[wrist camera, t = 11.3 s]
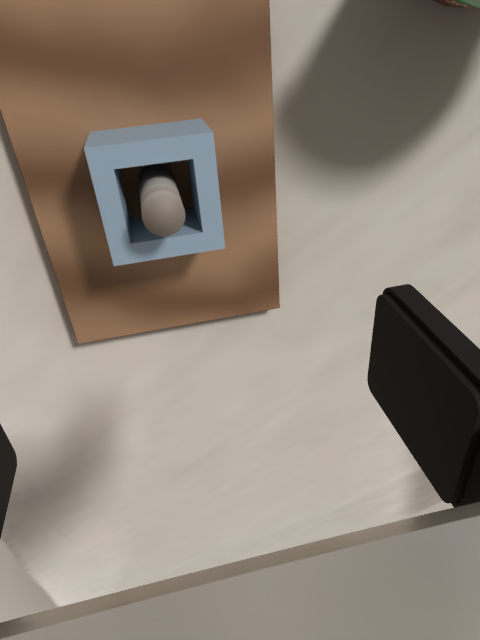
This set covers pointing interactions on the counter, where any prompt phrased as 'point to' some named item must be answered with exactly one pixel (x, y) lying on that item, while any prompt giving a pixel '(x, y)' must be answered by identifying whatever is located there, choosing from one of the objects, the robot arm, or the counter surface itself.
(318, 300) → the counter surface
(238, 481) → the counter surface
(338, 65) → the counter surface
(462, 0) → the food container
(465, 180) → the counter surface
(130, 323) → the shaft stand
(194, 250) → the collar
